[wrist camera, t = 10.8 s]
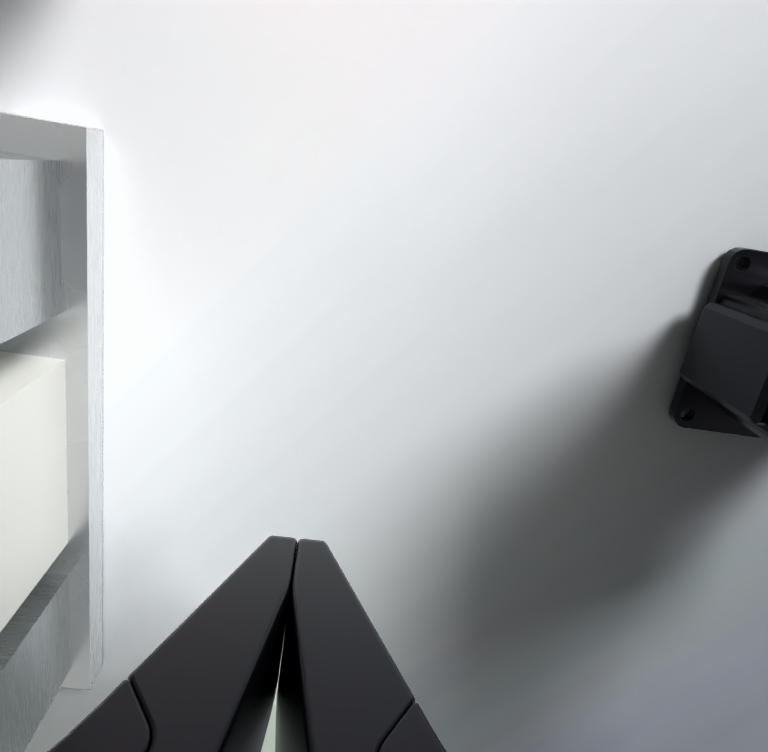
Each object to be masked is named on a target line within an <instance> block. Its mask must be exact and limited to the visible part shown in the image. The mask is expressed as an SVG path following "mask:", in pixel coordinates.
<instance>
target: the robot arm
mask: <svg viewBox="0 0 768 752" xmlns="http://www.w3.org/2000/svg"><path fill="white" fill-rule="evenodd" d="M741 257H742V258H743V264H742V265H741V267H740V268H738V269H736V267H735V266H736V262H737V260H738V259H739V258H741ZM688 408H689V412H688V413H687V414H686V415H685V416H683V417H681V414H682V412H683V411H684V410H685V409H688ZM669 416H670V418H671V419H672V420H673V421H674V422H675V423H676V424H677V425H679V426H681V427H685V428H693V429H700V430H708V431H715V432H723V433H730V434H737V435H745V436H752V437H760V438H763V439H764V440H766V441H767V442H768V252H764V251H759V250H753V249H747V248H734V249H731V250H729V251H728V252H727V253H726V254H725V255H724V257H723V259H722V261H721V264H720V267H719V270H718V273H717V275H716V278H715V281H714V284H713V287H712V290H711V292H710V295H709V298H708V301H707V304H706V306H705V307H704V308H703V309H702V312H701V315H700V317H699V320H698V323H697V326H696V329H695V332H694V335H693V337H692V340H691V343H690V346H689V349H688V352H687V354H686V357H685V360H684V363H683V366H682V369H681V377H680V380H679V383H678V386H677V389H676V391H675V394H674V397H673V400H672V403H671V406H670V408H669ZM296 548H297V549H296ZM295 555H296V556H295ZM282 649H283V650H282ZM281 656H282V657H281ZM280 663H281V665H280ZM279 670H280V672H279ZM278 677H279V680H278ZM277 683H278V689H277ZM276 689H277V700H276V732H275V752H446V750H445V749H444V747H443V745H442V744H441V742H440V740H439V739H438V737H437V736H436V734H435V732H434V731H433V729H432V727H431V726H430V724H429V722H428V720H427V719H426V717H425V715H424V713H423V711H422V710H421V708H420V706H419V704H418V703H415V698H414V696H413V694H412V693H411V691H410V689H409V687H408V686H407V684H406V682H405V680H404V679H403V677H402V675H401V673H400V672H399V670H398V668H397V666H396V665H395V663H394V661H393V659H392V658H391V656H390V654H389V652H388V651H387V649H386V647H385V645H384V644H383V642H382V640H381V638H380V637H379V635H378V633H377V631H376V630H375V628H374V626H373V624H372V623H371V621H370V619H369V617H368V616H367V614H366V612H365V610H364V608H363V607H362V605H361V603H360V601H359V600H358V598H357V596H356V594H355V593H354V591H353V589H352V587H351V586H350V584H349V582H348V580H347V579H346V577H345V575H344V573H343V572H342V570H341V568H340V566H339V565H338V563H337V561H336V559H335V558H334V556H333V554H332V552H331V551H330V549H329V547H328V545H327V544H326V543H325V542H324V541H319V540H309V539H300V540H299V541H298V543H297V541H296V539H295V538H290V537H281V536H270V537H268V538H267V539H266V540H265V541H264V542H263V543H262V544H261V545H260V546H259V547H258V548H257V549H256V550H255V551H254V552H253V553H252V554H251V555H250V556H249V557H248V558H247V559H246V560H245V561H244V562H243V563H242V564H241V565H240V566H239V567H238V568H237V569H236V570H235V571H234V572H233V573H232V574H231V575H230V576H229V577H228V578H227V579H226V580H225V581H224V582H223V583H222V584H221V585H220V586H219V587H218V588H217V589H216V590H215V591H214V592H213V593H212V594H211V595H210V596H209V597H208V598H207V599H206V600H205V601H204V602H203V603H202V604H201V605H200V606H199V607H198V608H197V609H196V610H195V611H194V612H193V613H192V614H191V615H190V616H189V617H188V618H187V619H186V620H185V621H184V622H183V623H182V624H181V625H180V626H179V627H178V628H177V629H176V630H175V631H174V632H173V633H172V634H171V635H170V636H169V637H168V638H167V639H166V640H165V641H164V642H163V643H162V644H161V645H160V646H159V647H158V648H157V649H156V650H155V651H154V652H153V653H152V654H151V655H150V656H149V657H148V658H147V659H146V660H145V661H144V662H143V663H142V664H141V665H139V666H138V667H137V668H136V669H135V670H134V671H133V672H132V673H131V674H130V675H129V677H128V680H124V681H123V682H122V683H121V684H120V685H119V686H118V687H117V688H116V689H115V690H114V691H113V692H112V693H111V694H110V695H109V696H108V697H107V698H106V699H105V700H104V701H103V702H102V703H101V704H100V705H99V706H98V707H97V708H95V709H94V710H93V711H92V712H91V713H90V714H89V715H88V716H87V717H86V718H85V719H84V720H83V721H82V722H81V723H80V724H78V725H77V726H76V727H75V728H74V729H73V730H72V731H71V732H70V733H69V734H68V735H67V736H65V737H64V738H63V739H62V740H61V741H60V742H58V743H57V744H56V745H55V746H54V747H53V748H51V749H50V750H49V751H48V752H261V750H262V746H263V742H264V738H265V735H266V731H267V727H268V723H269V720H270V716H271V712H272V708H273V703H274V699H275V695H276Z"/></svg>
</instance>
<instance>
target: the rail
mask: <svg viewBox="0 0 768 752" xmlns="http://www.w3.org/2000/svg"><path fill="white" fill-rule="evenodd" d="M0 351H3V352H11V353H18V354H25V355H33V356H40V357H48V358H55V359H62V360H65V370H66V437H67V504H68V543H67V545H66V546H65V547H64V549H63V550H62V551H61V553H60V554H59V555H58V557H57V558H56V559H55V561H54V562H53V563H52V565H51V566H50V567H49V569H48V570H47V571H46V573H45V574H44V575H43V577H42V578H41V579H40V581H39V582H38V583H37V585H36V586H35V587H34V589H33V590H32V591H31V592H30V594H29V595H28V596H27V598H26V599H25V600H24V602H23V603H22V604H21V606H20V607H19V608H18V610H17V611H16V612H15V614H14V615H13V616H12V618H11V619H10V620H9V622H8V623H7V624H6V626H5V627H4V628H3V630H2V631H1V632H0V752H24V751H25V749H26V747H27V745H28V743H29V742H30V740H31V738H32V736H33V734H34V733H35V731H36V729H37V727H38V726H39V724H40V722H41V720H42V718H43V717H44V715H45V713H46V711H47V710H48V708H49V706H50V704H51V702H52V701H53V699H54V697H55V695H56V693H57V692H58V690H59V688H60V687H61V688H74V689H87V690H90V689H91V687H92V685H93V683H94V681H95V679H96V677H97V675H98V673H99V671H100V669H101V667H102V563H103V130H100V129H94V128H88V127H82V126H77V125H71V124H65V123H59V122H53V121H48V120H42V119H36V118H30V117H24V116H18V115H13V114H7V113H1V112H0Z"/></svg>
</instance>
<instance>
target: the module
mask: <svg viewBox="0 0 768 752" xmlns="http://www.w3.org/2000/svg"><path fill="white" fill-rule="evenodd" d="M67 543H68V504H67V437H66V370H65V360H62V359H55V358H48V357H40V356H33V355H25V354H18V353H11V352H3V351H0V632H1V631H2V630H3V628H4V627H5V626H6V624H7V623H8V622H9V620H10V619H11V618H12V616H13V615H14V614H15V612H16V611H17V610H18V608H19V607H20V606H21V604H22V603H23V602H24V600H25V599H26V598H27V596H28V595H29V594H30V592H31V591H32V590H33V589H34V587H35V586H36V585H37V583H38V582H39V581H40V579H41V578H42V577H43V575H44V574H45V573H46V571H47V570H48V569H49V567H50V566H51V565H52V563H53V562H54V561H55V559H56V558H57V557H58V555H59V554H60V553H61V551H62V550H63V549H64V547H65V546H66V545H67Z"/></svg>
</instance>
